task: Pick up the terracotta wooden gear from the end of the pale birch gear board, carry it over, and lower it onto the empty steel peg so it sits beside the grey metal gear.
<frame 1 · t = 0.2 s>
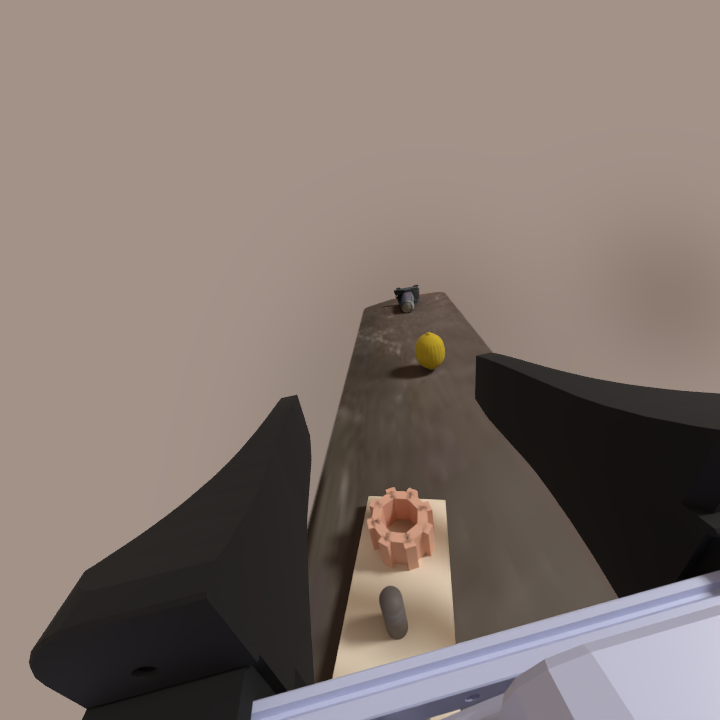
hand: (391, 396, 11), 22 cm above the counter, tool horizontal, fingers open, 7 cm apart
black camera: (408, 309, 97), on the counter
board: (399, 634, 21), on the counter
lemon: (431, 370, 56), on the counter
gear: (403, 535, 26), point 1 cm above the counter, touching board
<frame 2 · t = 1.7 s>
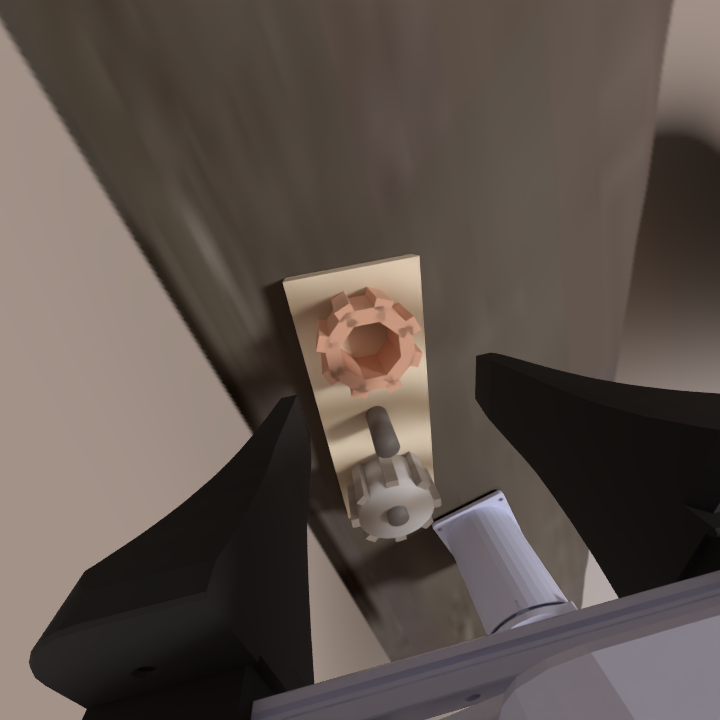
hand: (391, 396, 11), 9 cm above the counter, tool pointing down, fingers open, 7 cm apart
board: (372, 403, 22), on the counter
gear: (362, 333, 18), point 1 cm above the counter, touching board
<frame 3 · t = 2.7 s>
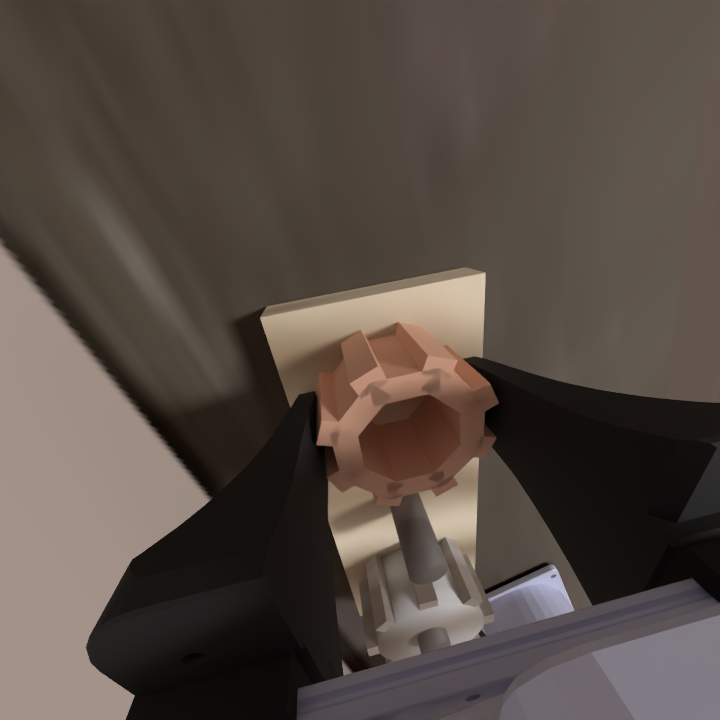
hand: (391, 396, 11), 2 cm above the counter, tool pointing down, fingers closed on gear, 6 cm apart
board: (395, 474, 16), on the counter
gear: (388, 391, 11), point 1 cm above the counter, touching board, gripper
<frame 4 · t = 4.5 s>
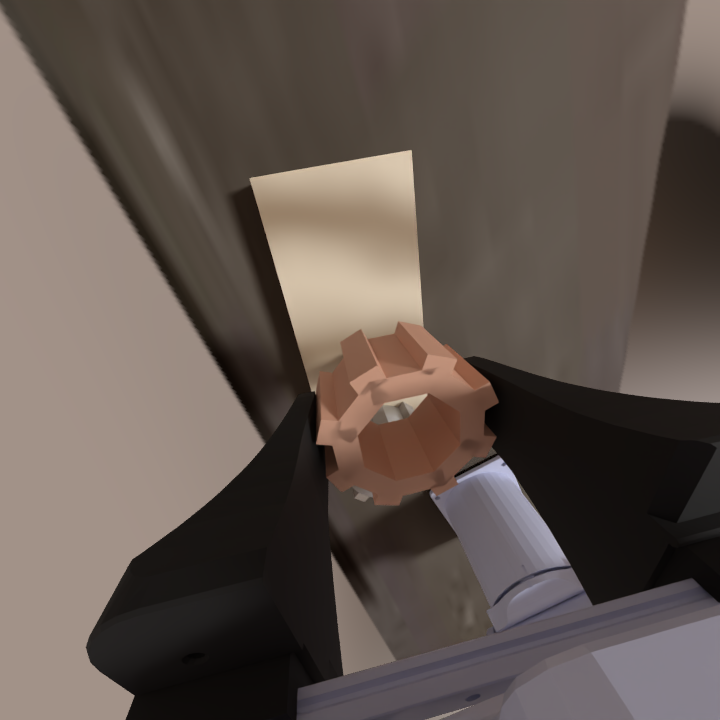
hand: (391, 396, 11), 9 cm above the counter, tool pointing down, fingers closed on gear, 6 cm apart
board: (361, 346, 20), on the counter
gear: (388, 390, 11), point 8 cm above the counter, touching gripper
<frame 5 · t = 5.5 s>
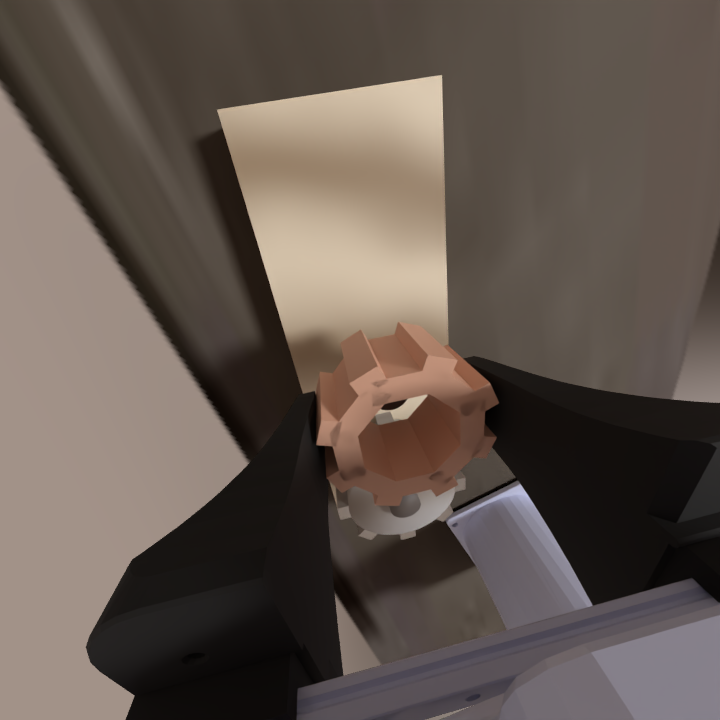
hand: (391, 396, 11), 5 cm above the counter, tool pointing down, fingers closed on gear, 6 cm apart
board: (368, 346, 16), on the counter
gear: (388, 391, 11), point 5 cm above the counter, touching gripper
when the fingers open (4 cm above the counter, at t = 6.4 s): gear drops 2 cm, resting on board.
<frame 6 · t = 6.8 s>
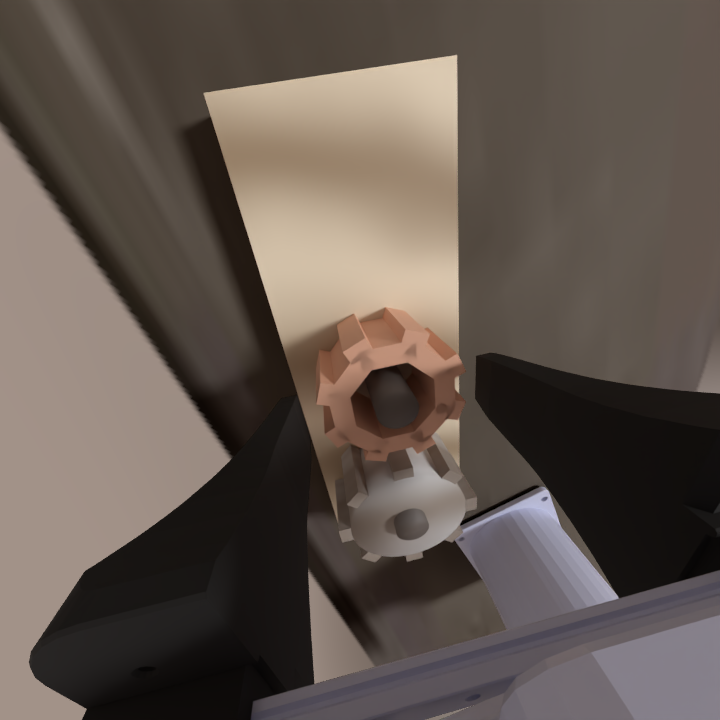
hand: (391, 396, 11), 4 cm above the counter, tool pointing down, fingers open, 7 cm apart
board: (372, 355, 15), on the counter
gear: (378, 367, 13), point 1 cm above the counter, touching board
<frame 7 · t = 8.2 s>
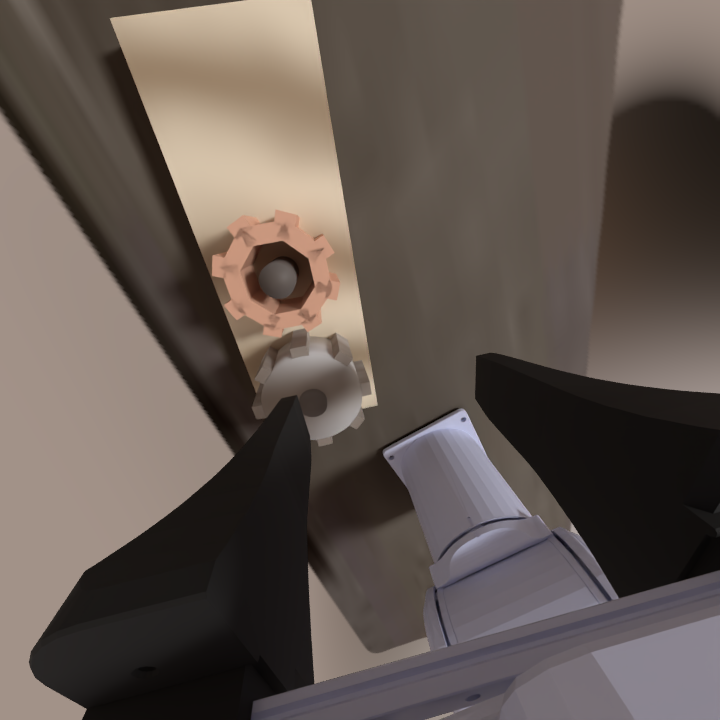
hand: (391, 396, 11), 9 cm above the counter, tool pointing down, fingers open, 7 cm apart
board: (286, 267, 17), on the counter
gear: (284, 270, 16), point 1 cm above the counter, touching board
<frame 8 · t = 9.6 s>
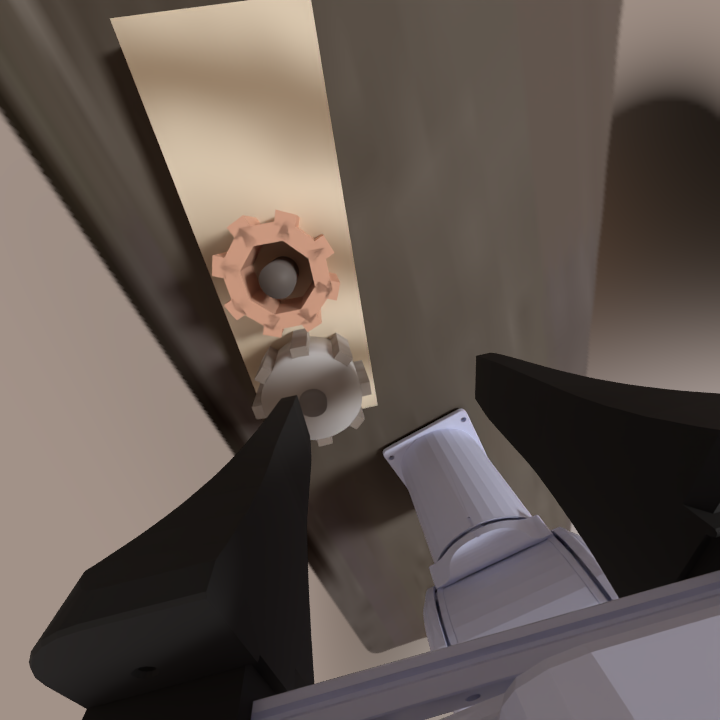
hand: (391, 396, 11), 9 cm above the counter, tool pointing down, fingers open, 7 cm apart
board: (286, 267, 17), on the counter
gear: (284, 270, 16), point 1 cm above the counter, touching board
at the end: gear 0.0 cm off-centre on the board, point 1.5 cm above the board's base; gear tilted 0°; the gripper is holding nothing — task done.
